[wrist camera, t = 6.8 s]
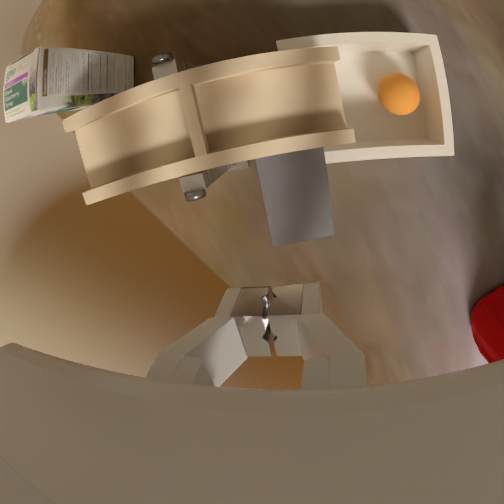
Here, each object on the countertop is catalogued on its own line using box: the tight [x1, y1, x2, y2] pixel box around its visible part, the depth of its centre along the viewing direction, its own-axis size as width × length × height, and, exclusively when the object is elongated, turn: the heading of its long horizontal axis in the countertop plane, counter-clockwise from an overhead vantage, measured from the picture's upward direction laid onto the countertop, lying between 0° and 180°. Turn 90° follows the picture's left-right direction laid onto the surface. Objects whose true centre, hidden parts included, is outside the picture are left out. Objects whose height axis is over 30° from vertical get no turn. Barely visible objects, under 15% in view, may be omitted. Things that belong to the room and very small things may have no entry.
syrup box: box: [3, 47, 134, 122], centre depth 20 cm, size 6×6×14 cm
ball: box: [377, 73, 420, 115], centre depth 20 cm, size 4×4×4 cm
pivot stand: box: [151, 53, 250, 201], centre depth 23 cm, size 12×5×10 cm, turn 12°
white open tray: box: [276, 32, 454, 164], centre depth 21 cm, size 11×14×5 cm
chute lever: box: [62, 46, 356, 247], centre depth 22 cm, size 20×14×8 cm
